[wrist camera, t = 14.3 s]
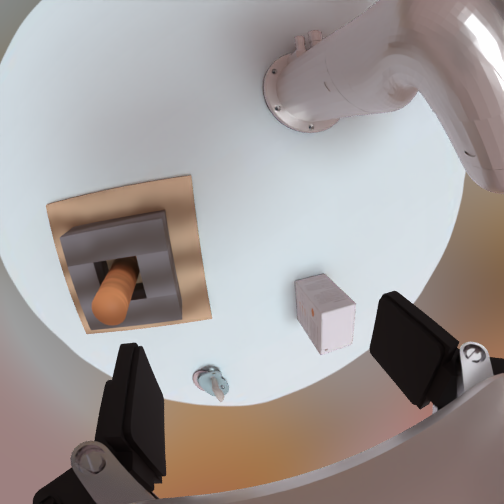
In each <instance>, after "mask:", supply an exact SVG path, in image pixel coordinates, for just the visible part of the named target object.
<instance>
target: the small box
mask: <svg viewBox="0 0 504 504" xmlns="http://www.w3.org/2000/svg"><path fill="white" fill-rule="evenodd" d="M295 286H296V301H297V319H298V321H299V322H300V324H301V326H302V327H303V329H304V330H305V332H306V333H307V335H308V336H309V338H310V339H311V341H312V343H313V344H314V346H315V347H316V349H317V350H318V352H319V353H320V355H322V354H325V353H329V352H332V351H335V350H338V349H340V348H343V347H346V346H349V345H351V344H352V341H353V331H354V319H355V306H356V303H355V302H354V301H353V300H352V299H351V298H350V297H349V296H348V295H347V294H346V293H344V292H343V291H342V290H341V289H340V288H339V287H338V286H337V285H336V284H335V283H334V282H333V281H332V280H331V279H330V278H329V277H328V276H326V275H325V274H321V275H317V276H313V277H309V278H305V279H301V280H296V281H295Z"/></svg>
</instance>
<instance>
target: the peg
mask: <svg viewBox="0 0 504 504" xmlns="http://www.w3.org/2000/svg"><path fill="white" fill-rule="evenodd" d="M139 273H140V270H139V266H138V261H137V257H136V256H130V257H124V258H118V259H115V261H114V263H113V264H112V266H111V268H110V270H109V271H108V273H107V275H106V277H105V279H104V280H103V282H102V284H101V286H100V288H99V290H98V292H97V293H96V295H95V297H94V299H93V301H92V312H93V314H94V316H95V317H96V318H97V319H98V320H99V321H100V322H102V323H104V324H106V325H112V326H113V325H118V324H120V323H122V322H123V321H124V319H125V317H126V314H127V311H128V307H129V304H130V301H131V297H132V294H133V291H134V288H135V285H136V282H137V279H138V276H139Z"/></svg>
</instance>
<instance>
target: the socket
mask: <svg viewBox="0 0 504 504" xmlns="http://www.w3.org/2000/svg"><path fill="white" fill-rule="evenodd" d="M46 208H47V213H48V218H49V222H50V227H51V231H52V235H53V239H54V243H55V246H56V250H57V254H58V257H59V261H60V264H61V267H62V270H63V273H64V277H65V280H66V283H67V285H68V288H69V291H70V294H71V297H72V299H73V302H74V305H75V307H76V310H77V312H78V315H79V317H80V320H81V322H82V325H83V327H84V329H85V331H86V334H93V333H104V332H114V331H124V330H133V329H142V328H150V327H158V326H166V325H173V324H180V323H187V322H194V321H201V320H207V319H212V315H211V310H210V304H209V298H208V292H207V286H206V280H205V274H204V268H203V261H202V255H201V248H200V241H199V234H198V227H197V220H196V212H195V204H194V196H193V187H192V179H191V175H188V176H181V177H175V178H168V179H162V180H156V181H150V182H144V183H139V184H133V185H128V186H123V187H118V188H113V189H108V190H104V191H99V192H95V193H90V194H86V195H82V196H77V197H73V198H69V199H65V200H61V201H58V202H54V203H50V204H48V205H46ZM130 256H136V257H137V261H138V266H139V270H140V273H139V276H138V279H137V282H136V285H135V288H134V291H133V294H132V297H131V301H130V304H129V307H128V311H127V314H126V317H125V319H124V321H123V322H122V323H120V324H118V325H113V326H112V325H106V324H104V323H102V322H100V321H99V320H98V319H97V318H96V317H95V316H94V314H93V312H92V301H93V299H94V297H95V295H96V293H97V292H98V290H99V288H100V286H101V284H102V282H103V280H104V279H105V277H106V275H107V273H108V271H109V270H110V268H111V266H112V264H113V263H114V261H115V259H118V258H124V257H130Z"/></svg>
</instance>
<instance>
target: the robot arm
mask: <svg viewBox="0 0 504 504" xmlns="http://www.w3.org/2000/svg"><path fill="white" fill-rule="evenodd" d="M308 35H309V42H310V45H311V48H310V49H309V50H306V49H305V38H304V36H295V45H296V50H295V52H294V53H289V54H286V55H284V56H282V57H280V58H279V59H278V60H276V61H275V62H274V63H273V64H272V65H271V66H270V68H269V69H268V71H267V73H266V76H265V79H264V86H263V89H264V96H265V100H266V103H267V105H268V107H269V109H270V111H271V112H272V113H273V115H274V116H275V117H276V118H277V119H278V120H279V121H280V122H281V123H282V124H284V125H285V126H287V127H289V128H291V129H293V130H295V131H299V132H304V133H314V132H320V131H324V130H326V129H328V128H330V127H332V126H333V125H334V124H336V123H337V121H338V120H339V119H340V118H344V117H351V116H359V115H368V114H378V113H386V112H392V111H396V110H399V109H401V108H403V107H404V106H406V105H407V104H409V103H410V102H411V100H412V99H413V98H414V97H415V95H416V94H417V92H418V91H419V92H420V93H421V94H422V96H423V97H424V98H425V100H426V101H427V103H428V104H429V106H430V108H431V109H432V111H433V112H434V113H435V114H436V116H437V118H438V119H439V121H440V123H441V125H442V126H443V128H444V130H445V132H446V134H447V136H448V137H449V139H450V141H451V143H452V145H453V147H454V149H455V151H456V153H457V155H458V157H459V159H460V161H461V163H462V165H463V167H464V168H465V170H466V172H467V173H468V175H469V176H470V177H471V178H472V180H473V181H474V182H476V183H477V184H478V185H479V186H480V187H482V188H484V189H486V190H488V191H490V192H494V193H499V194H504V0H379V1H378V2H376V3H375V4H374V5H373V6H371V7H370V8H369V9H368V10H366V11H365V12H364V13H363V14H361V15H360V16H358V17H357V18H355V19H354V20H352V21H351V22H349V23H348V24H346V25H345V26H343V27H342V28H340V29H338V30H337V31H335V32H334V33H332V34H331V35H329V36H328V37H326V38H325V39H322V32H321V31H318V30H313V31H309V32H308ZM272 72H274V74H273V73H272ZM275 107H276V108H277V111H276V110H275ZM309 126H310V129H309ZM458 344H459V341H458V340H456V339H455V338H454V337H453V336H452V335H450V334H449V333H448V332H447V331H445V329H443V328H442V327H441V326H439V325H438V324H437V323H436V322H435V321H434V320H432V319H431V318H430V317H429V316H427V315H426V314H425V313H424V312H422V311H421V310H420V309H419V308H417V307H416V306H415V305H414V304H412V303H411V302H410V301H409V300H407V299H406V298H405V297H403V296H402V295H401V294H400V293H398V292H397V291H392V292H389V293H385V294H383V295H382V297H381V299H380V300H379V303H378V309H377V315H376V320H375V325H374V330H373V335H372V339H371V344H370V353H371V354H372V356H373V357H374V358H375V359H376V361H377V362H378V363H379V364H380V365H381V367H382V368H383V369H384V370H385V371H386V373H387V374H388V375H389V376H390V377H391V379H392V380H393V381H394V382H395V383H396V385H397V386H398V387H399V388H400V389H401V391H402V392H403V393H404V394H405V395H406V397H407V398H408V399H409V400H410V402H412V404H414V405H417V407H418V408H419V409H422V408H423V407H425V406H426V405H428V404H429V403H430V401H431V402H432V403H433V414H432V415H431V416H429V417H428V418H426V419H424V420H423V421H421V422H419V423H418V424H416V425H414V426H413V427H411V428H409V429H407V430H406V431H404V432H402V433H400V434H398V435H396V436H394V437H393V438H391V439H389V440H387V441H385V442H383V443H381V444H379V445H377V446H375V447H372V448H371V449H368V450H366V451H364V452H361V453H359V454H357V455H354V456H352V457H350V458H347V459H345V460H342V461H340V462H337V463H334V464H332V465H329V466H326V467H323V468H320V469H317V470H315V471H311V472H309V473H305V474H302V475H299V476H296V477H292V478H288V479H285V480H281V481H277V482H273V483H269V484H265V485H260V486H255V487H250V488H244V489H239V490H233V491H227V492H221V493H213V494H205V495H196V496H185V497H176V498H163V499H159V498H158V497H157V496H156V495H155V494H154V493H153V492H152V491H153V490H154V483H162V476H166V460H165V436H164V398H163V394H162V392H161V390H160V387H159V385H158V383H157V381H156V378H155V376H154V374H153V371H152V369H151V366H150V364H149V361H148V359H147V356H146V354H145V351H144V349H143V347H142V346H138V345H137V343H127V344H121V345H120V348H119V352H118V356H117V360H116V365H115V369H114V374H113V378H112V380H108V381H107V382H106V384H105V388H104V392H103V397H102V402H101V407H100V412H99V417H98V424H97V429H96V434H95V441H86V442H83V443H81V444H80V445H78V446H77V447H76V448H75V449H74V451H73V452H72V455H71V466H72V468H70V469H69V470H67V471H66V472H65V473H63V474H62V475H61V476H59V477H58V478H56V479H55V480H53V481H52V482H50V483H49V484H47V485H46V486H44V487H43V488H41V489H40V490H39V491H38V492H37V493H36V494H35V496H34V498H33V504H504V359H502V358H493V357H489V354H488V351H487V350H486V349H485V347H483V346H482V345H480V344H478V343H476V342H467V343H464V344H463V345H461V348H460V349H458V348H457V346H458Z"/></svg>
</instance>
